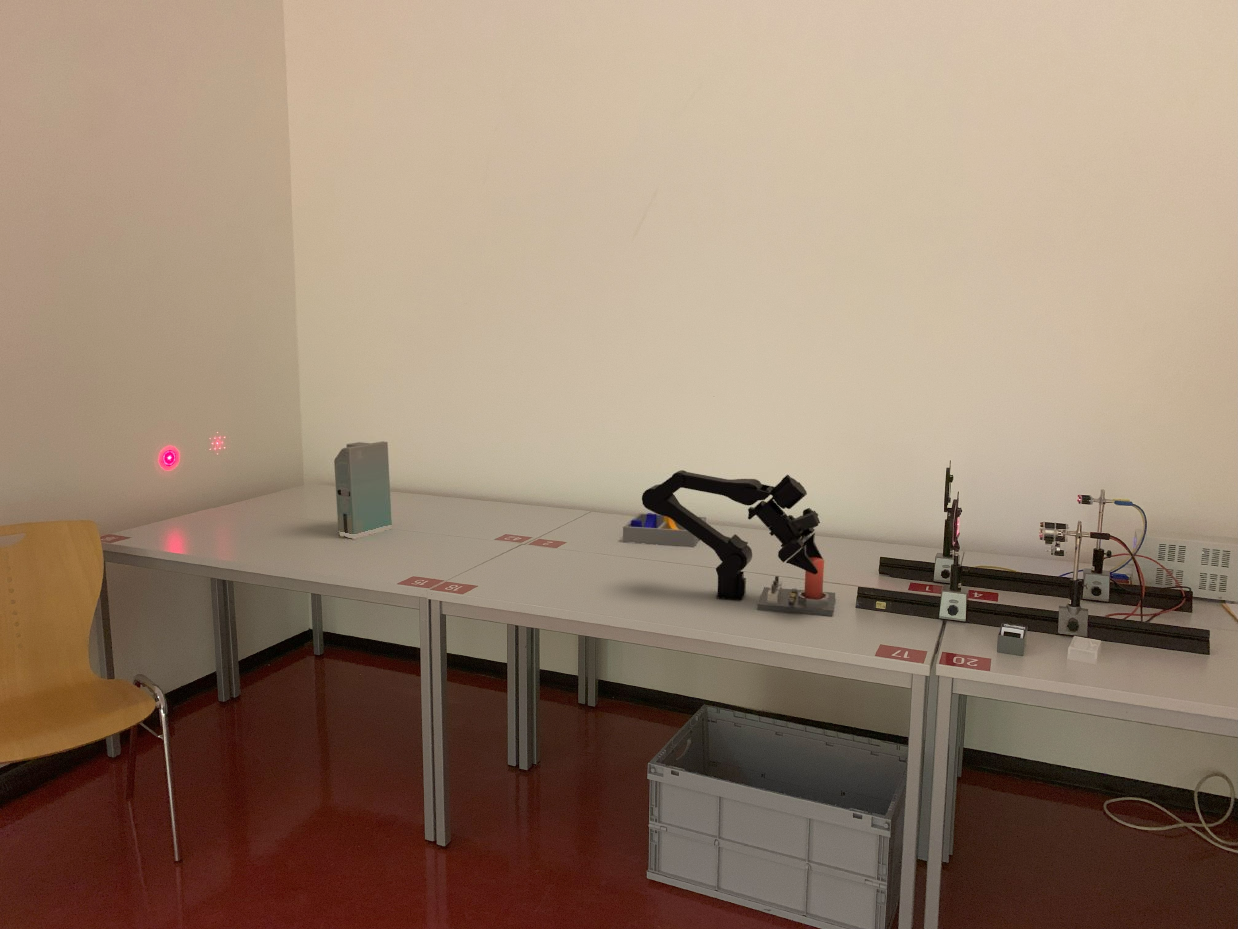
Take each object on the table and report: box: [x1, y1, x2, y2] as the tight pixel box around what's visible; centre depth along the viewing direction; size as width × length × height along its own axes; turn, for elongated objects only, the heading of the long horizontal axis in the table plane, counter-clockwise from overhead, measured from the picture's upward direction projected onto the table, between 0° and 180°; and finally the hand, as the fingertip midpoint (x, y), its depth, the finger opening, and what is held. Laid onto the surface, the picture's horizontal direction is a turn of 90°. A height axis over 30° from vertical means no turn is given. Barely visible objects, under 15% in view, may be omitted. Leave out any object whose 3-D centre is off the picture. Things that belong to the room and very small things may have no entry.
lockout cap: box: [803, 558, 825, 599], centre depth 221 cm, size 4×4×10 cm
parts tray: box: [622, 512, 707, 548], centre depth 290 cm, size 23×20×5 cm
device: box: [333, 441, 393, 534], centre depth 295 cm, size 16×8×30 cm, turn 148°
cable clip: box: [630, 512, 657, 528], centre depth 293 cm, size 12×4×6 cm, turn 150°
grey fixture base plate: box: [756, 575, 836, 617], centre depth 223 cm, size 18×14×6 cm
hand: (820, 568), depth 220 cm, fingers open, 9 cm apart
